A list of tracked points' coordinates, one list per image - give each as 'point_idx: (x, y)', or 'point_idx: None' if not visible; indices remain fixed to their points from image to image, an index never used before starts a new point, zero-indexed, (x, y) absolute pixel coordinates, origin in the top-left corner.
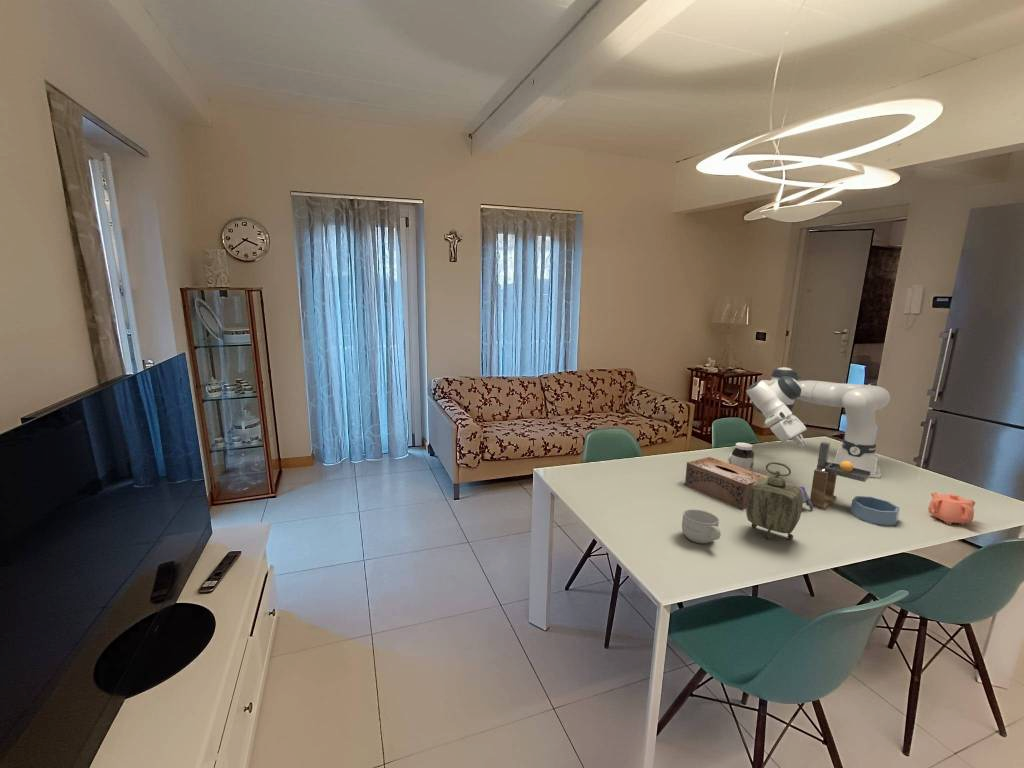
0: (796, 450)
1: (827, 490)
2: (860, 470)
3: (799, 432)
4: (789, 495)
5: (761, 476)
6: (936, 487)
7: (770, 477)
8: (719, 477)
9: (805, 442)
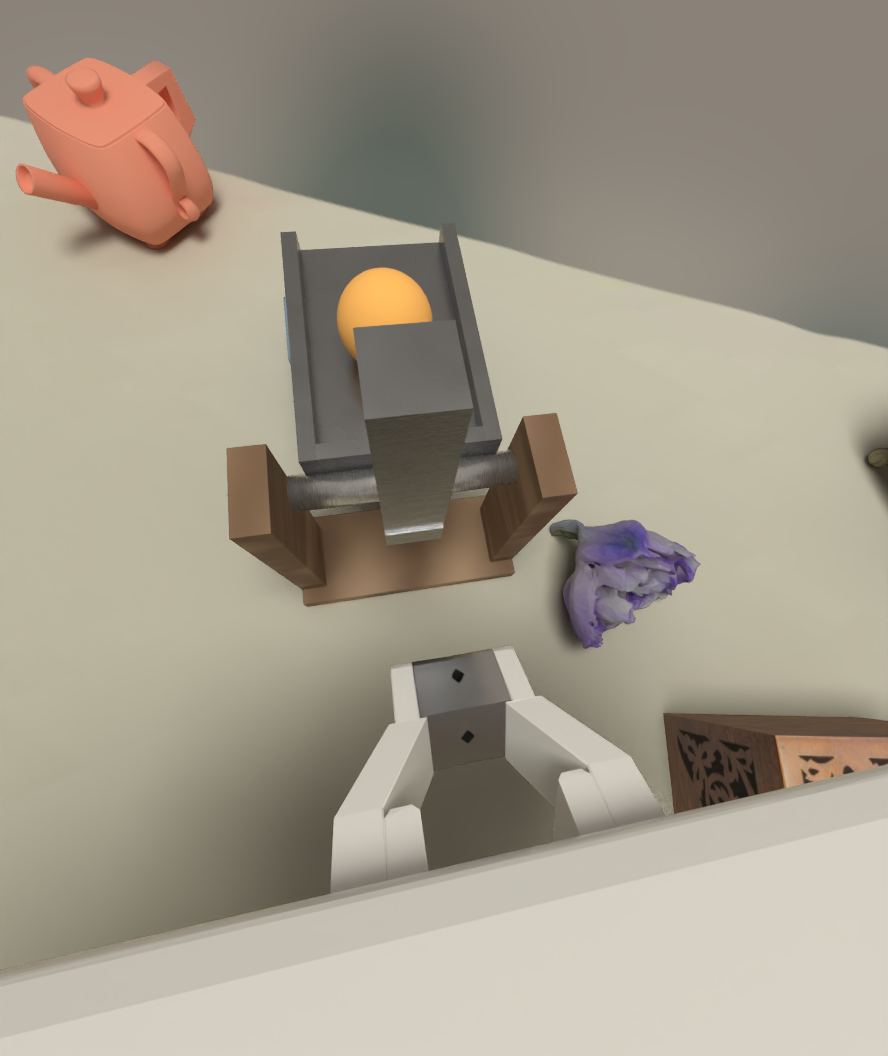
0: None
1: (318, 548)
2: (300, 284)
3: (466, 880)
4: None
5: (820, 779)
6: None
7: None
8: None
9: (402, 682)
